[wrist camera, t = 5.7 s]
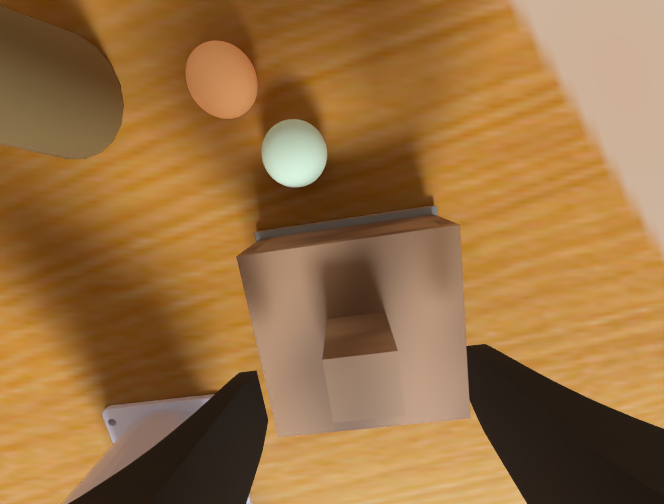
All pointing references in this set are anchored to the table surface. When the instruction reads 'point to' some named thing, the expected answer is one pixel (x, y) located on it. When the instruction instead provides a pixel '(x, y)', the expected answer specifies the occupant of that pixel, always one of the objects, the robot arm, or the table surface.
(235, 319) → the table surface
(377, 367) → the walnut cover
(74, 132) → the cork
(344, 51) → the table surface
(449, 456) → the table surface
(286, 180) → the mint ball
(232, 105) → the terracotta ball
